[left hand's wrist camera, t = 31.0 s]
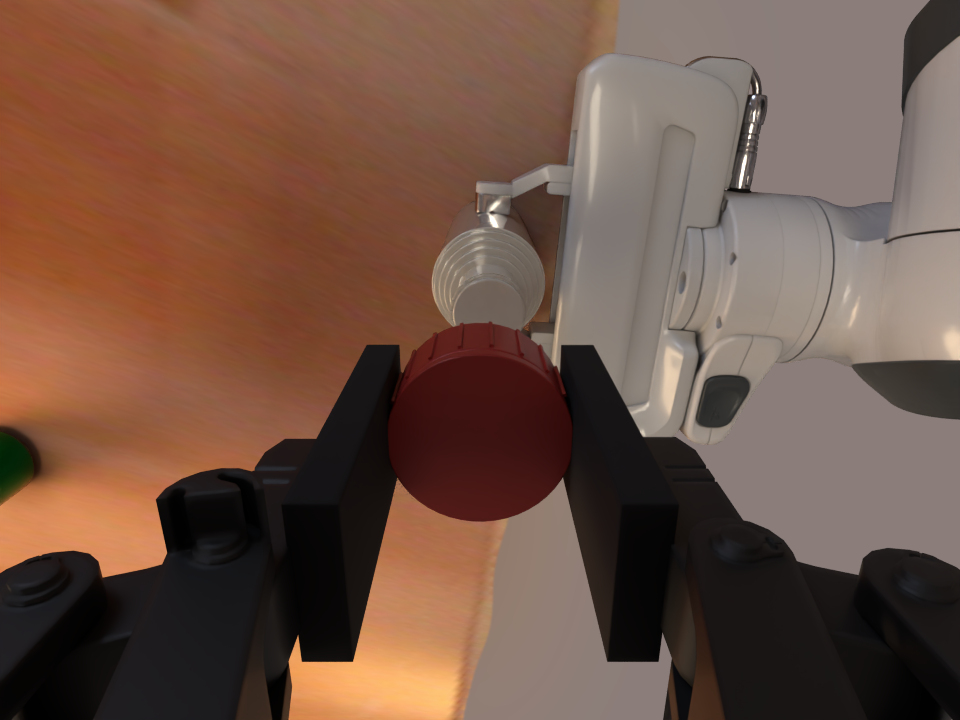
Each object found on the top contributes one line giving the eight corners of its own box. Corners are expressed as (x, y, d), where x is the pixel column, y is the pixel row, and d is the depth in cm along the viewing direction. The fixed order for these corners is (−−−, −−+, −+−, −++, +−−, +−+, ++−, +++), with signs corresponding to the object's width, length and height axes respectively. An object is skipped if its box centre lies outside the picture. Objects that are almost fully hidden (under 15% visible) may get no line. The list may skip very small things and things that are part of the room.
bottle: (446, 200, 38) (414, 249, 21) (525, 196, 38) (557, 242, 21) (451, 278, 39) (426, 381, 23) (527, 275, 39) (558, 375, 23)
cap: (563, 468, 15) (576, 520, 13) (404, 475, 15) (392, 528, 13) (563, 316, 14) (578, 347, 12) (388, 323, 14) (373, 356, 12)
